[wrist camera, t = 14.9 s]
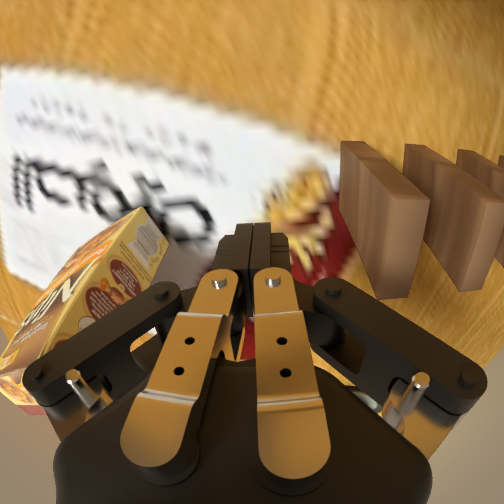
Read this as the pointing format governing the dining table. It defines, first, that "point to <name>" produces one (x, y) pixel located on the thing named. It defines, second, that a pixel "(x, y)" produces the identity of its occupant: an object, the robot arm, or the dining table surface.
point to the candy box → (83, 296)
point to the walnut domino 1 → (382, 218)
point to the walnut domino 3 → (485, 182)
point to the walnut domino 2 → (456, 216)
